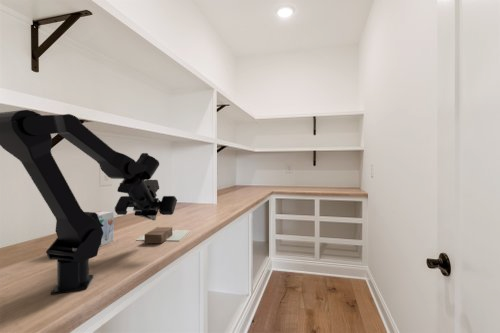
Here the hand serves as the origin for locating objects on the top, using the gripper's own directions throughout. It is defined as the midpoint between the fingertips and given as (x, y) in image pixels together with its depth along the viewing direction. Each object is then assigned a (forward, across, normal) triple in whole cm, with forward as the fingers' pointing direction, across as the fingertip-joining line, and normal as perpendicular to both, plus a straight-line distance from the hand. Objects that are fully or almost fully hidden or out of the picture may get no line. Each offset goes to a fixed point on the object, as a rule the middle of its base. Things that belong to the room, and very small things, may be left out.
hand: (154, 219), depth 86 cm
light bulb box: (+4, +20, +8) cm, 22 cm away
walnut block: (+4, 0, +6) cm, 7 cm away
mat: (+12, 0, -1) cm, 13 cm away
